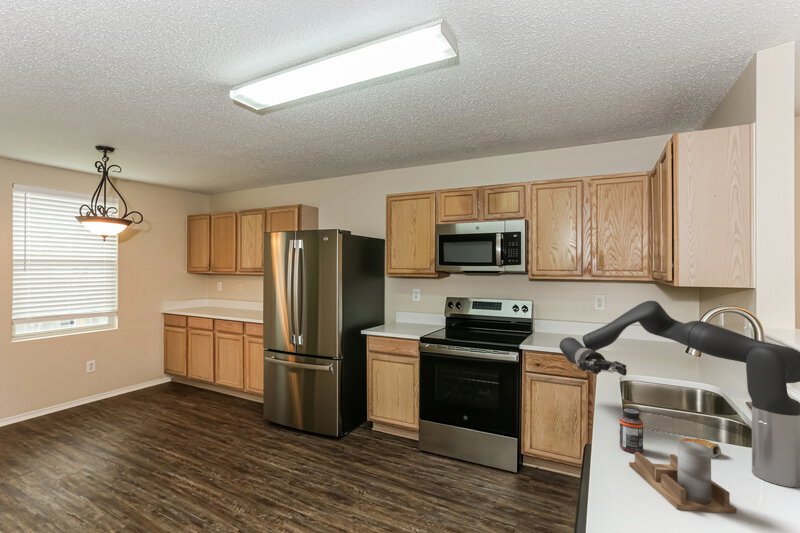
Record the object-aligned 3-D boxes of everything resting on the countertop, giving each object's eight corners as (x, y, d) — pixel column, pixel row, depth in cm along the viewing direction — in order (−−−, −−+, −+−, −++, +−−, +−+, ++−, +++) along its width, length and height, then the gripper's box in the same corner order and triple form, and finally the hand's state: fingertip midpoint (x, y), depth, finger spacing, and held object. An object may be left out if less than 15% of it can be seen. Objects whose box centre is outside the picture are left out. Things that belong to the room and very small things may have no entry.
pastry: (675, 447, 118) (675, 434, 118) (688, 443, 121) (688, 431, 121) (711, 460, 110) (711, 446, 110) (724, 456, 113) (724, 442, 113)
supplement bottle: (621, 443, 119) (621, 405, 119) (644, 449, 115) (644, 410, 115) (617, 449, 114) (617, 410, 114) (641, 456, 110) (641, 415, 111)
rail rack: (676, 468, 103) (676, 422, 104) (736, 513, 83) (736, 456, 84) (629, 465, 104) (629, 420, 104) (677, 509, 84) (677, 452, 84)
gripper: (569, 348, 142) (588, 359, 126) (610, 350, 141) (634, 361, 125) (569, 369, 142) (588, 382, 126) (609, 371, 141) (633, 384, 125)
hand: (611, 371), depth 126 cm, fingers open, 8 cm apart
